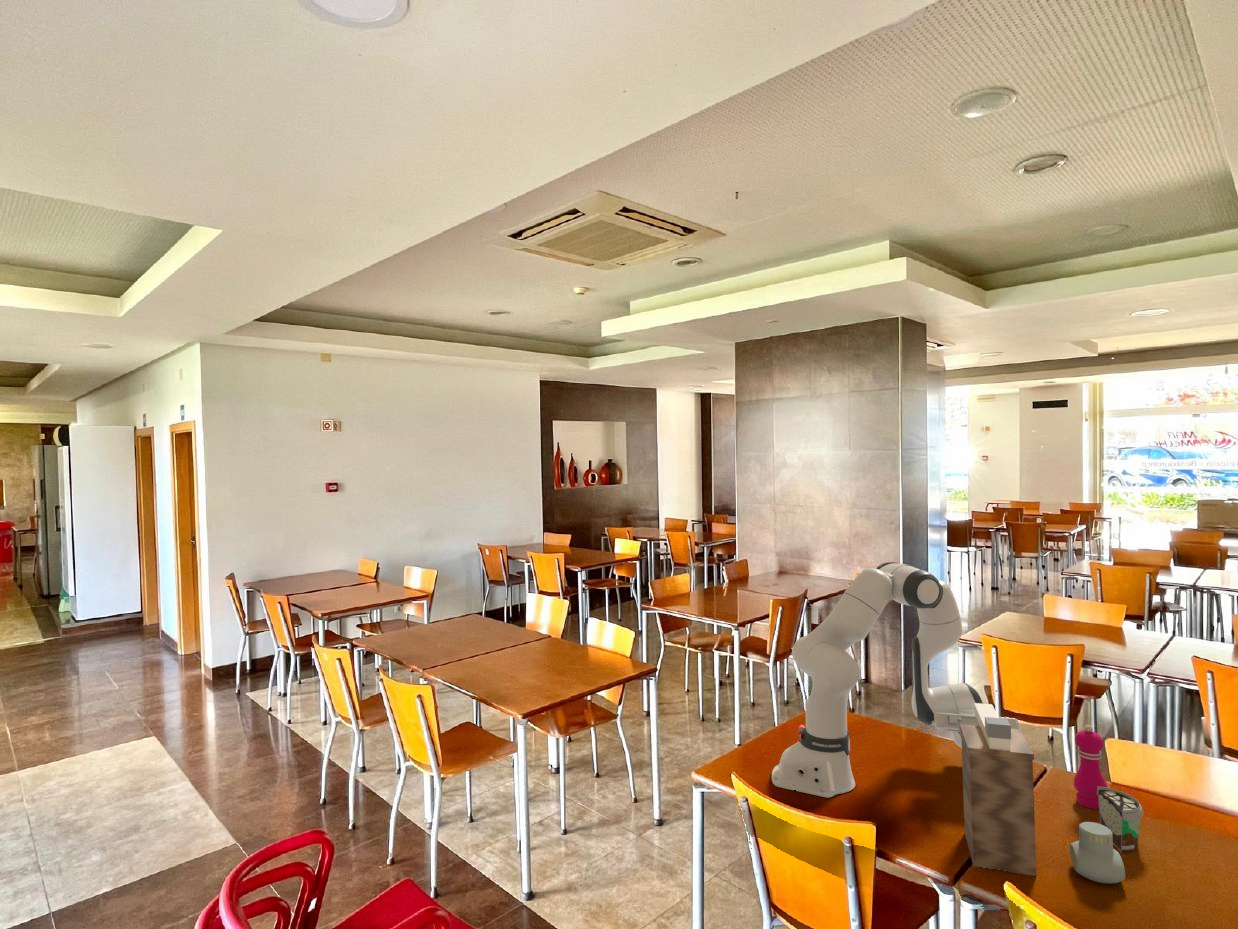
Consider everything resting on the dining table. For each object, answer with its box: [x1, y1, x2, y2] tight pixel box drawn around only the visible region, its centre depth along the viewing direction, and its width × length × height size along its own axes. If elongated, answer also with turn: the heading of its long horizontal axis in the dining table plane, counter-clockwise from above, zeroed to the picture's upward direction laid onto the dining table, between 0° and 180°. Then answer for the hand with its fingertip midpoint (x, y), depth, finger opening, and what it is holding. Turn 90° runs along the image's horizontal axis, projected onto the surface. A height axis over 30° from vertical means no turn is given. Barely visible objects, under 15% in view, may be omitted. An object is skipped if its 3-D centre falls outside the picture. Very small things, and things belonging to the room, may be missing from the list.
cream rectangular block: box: [974, 703, 1011, 751], centre depth 158 cm, size 4×22×6 cm, turn 160°
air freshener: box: [1069, 821, 1126, 885], centre depth 144 cm, size 11×8×10 cm
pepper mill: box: [1073, 724, 1109, 810], centre depth 174 cm, size 7×7×20 cm
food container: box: [1097, 787, 1144, 854], centre depth 156 cm, size 12×6×10 cm, turn 168°
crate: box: [960, 724, 1038, 877], centre depth 153 cm, size 13×14×26 cm
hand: (978, 718), depth 177 cm, fingers open, 8 cm apart
